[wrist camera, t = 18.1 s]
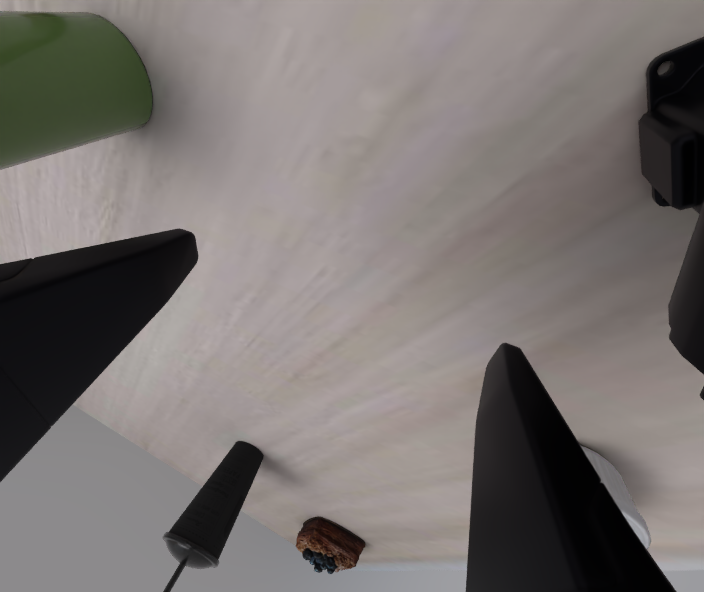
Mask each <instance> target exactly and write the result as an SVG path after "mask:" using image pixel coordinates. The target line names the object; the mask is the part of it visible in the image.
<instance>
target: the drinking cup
mask: <svg viewBox="0 0 704 592" xmlns="http://www.w3.org/2000/svg"><path fill="white" fill-rule="evenodd" d="M262 460H263V454H262V453H261V452H260V451H259V450H258V449H257V448H256V447H254V446H252V445H250V444H248V443H246V442H241V441H239V442H236V443H235V445H234V446H233V447H232V449H231V450H230V451H229V453H228V454H227V455H226V457H225V458H224V459H223V461H222V462H221V463H220V465H219V466H218V467H217V469H216V470H215V471H214V473H213V474H212V475H211V477H210V478H209V479H208V481H207V482H206V483H205V485H204V486H203V487H202V488H201V490H200V491H199V493H198V494H197V495H196V496H195V498H194V499H193V500H192V502H191V503H190V504H189V506H188V507H187V508H186V510H185V511H184V512H183V514H182V515H181V516H180V518H179V519H178V521H177V522H176V523H175V524H174V526H173V527H172V529H171V530H170V531H169V532H166V533H165V534H164V536H163V539H164V541H165V542H166V545H167V548H168V550H169V552H170V553H171V554H172V556H173V557H174V558H175V559H176V560H177V561H179V562H180V565H179V566H178V568H177V569H176V571H175V573H174V575H173V576H172V578H171V579H170V581H169V583H168V585H167V586H166V588H165V590H164V591H163V592H170V591H171V589H172V587H173V586H174V584H175V582H176V580H177V579H178V577H179V575H180V574H181V572H182V570H183V568H184V567H185V566H188V567H191V568H197V569H204V568H209V567H214V568H215V567H217V566H218V564H219V560H218V559H219V557H220V555H221V552H222V550H223V548H224V546H225V543H226V541H227V539H228V537H229V534H230V532H231V530H232V527H233V525H234V523H235V521H236V519H237V516H238V514H239V512H240V510H241V507H242V505H243V503H244V501H245V498H246V496H247V494H248V492H249V489H250V487H251V485H252V483H253V480H254V478H255V476H256V474H257V471H258V469H259V467H260V465H261V462H262Z"/></svg>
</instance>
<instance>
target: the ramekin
mask: <svg viewBox="0 0 704 592" xmlns="http://www.w3.org/2000/svg"><path fill="white" fill-rule="evenodd" d="M580 446H581V445H580ZM581 448H582V449H583V451H584V452H585V454H586V456H587V457H588V459H589V461H590V462H591V464H592V465H593V467H594V469H595V470H596V472H597V473H598V475H599V477H600V478H601V482H600V483H604V485H605V486H606V488H607V489H608V491H609V493H610V494H611V496H612V498H613V499H614V501H615V502H616V504H617V506H618V507H619V509H620V510H621V512H622V513H623V515H624V516H625V518H626V520H627V521H628V523H629V524H630V526H631V527H632V529H633V530H634V532H635V533H636V535H637V536H638V538H639V539H640V541H641V542H642V543H643V545H644V546H645V548H646V549H648V548H649V546H650V543H651V538H650V533H649V530H648V527H647V524H646V522H645V520H644V519H643V517H642V516H641V515H640V514H639V513H638V511H637V508H636V506H635V504H634V502H633V500H632V498H631V495H630V493H629V491H628V489H627V487H626V485H625V483H624V481H623V479H622V477H621V476H620V474H619V472H618V471H617V470H616V469H615V467H614V466H613V465H612V464H610V463H609V462H608V461H607V460H606V459H605V458H603V457H602V456H601V455H599V454H598V453H596V452H594V451H592V450H590V449H588V448H586V447H583V446H581Z"/></svg>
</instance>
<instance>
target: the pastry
mask: <svg viewBox="0 0 704 592" xmlns="http://www.w3.org/2000/svg"><path fill="white" fill-rule="evenodd" d="M296 547H297V548H298V550H299V551H300V552H302V554H303V558H304V559H305V560H310V564H312V565H315V567H314V569H315V571H316V572H322V570H326V569H327V572H328V573H330V574H332V573H333V572H334V571H335V572H338V571H339V570H341V571H342V570H345V569H351V568H352V567H355V566H356V564H357V561H358V560H359V555H360V554H361V552H362V550H363V548H364V547H365V542H364V541H363V540H361V539H360V538H358V537H357V536H356V535H354V534H353V533H351V532H349V531H348V530H346V529H344V528H343V527H341V526H339V525H337V524H335V523H333V522H331V521H329V520H327V519H324V518H322V517H314V518H311V519H309V520H307V521H305V522H304V523H303V527H302V529H301V531H299V533H298V537H297V544H296Z"/></svg>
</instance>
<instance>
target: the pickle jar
mask: <svg viewBox="0 0 704 592" xmlns="http://www.w3.org/2000/svg"><path fill="white" fill-rule="evenodd" d="M151 111H152V91H151V86H150V82H149V79H148V76H147V73H146V70H145V68H144V65H143V63H142V61H141V59H140V57H139V56H138V54H137V52H136V51H135V49H134V48H133V46H132V45H131V43H130V42H129V41H128V40H127V38H126V37H125V36H124V35H123V34H122V33H121V32H120V31H119V30H118V29H117V28H116V27H115V26H114V25H113V24H111V23H110V22H108V21H107V20H106V19H104V18H102V17H100V16H98V15H95V14H92V13H83V12H28V11H0V170H2V169H5V168H9V167H12V166H15V165H19V164H22V163H25V162H29V161H32V160H36V159H39V158H42V157H46V156H49V155H52V154H56V153H59V152H62V151H66V150H69V149H72V148H76V147H79V146H82V145H86V144H89V143H92V142H96V141H99V140H103V139H106V138H109V137H113V136H116V135H119V134H123V133H126V132H129V131H133V130H136V129H139V128H141V127H143V126H144V125H145V124H146V123H147V121H148V120H149V118H150V115H151Z"/></svg>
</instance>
